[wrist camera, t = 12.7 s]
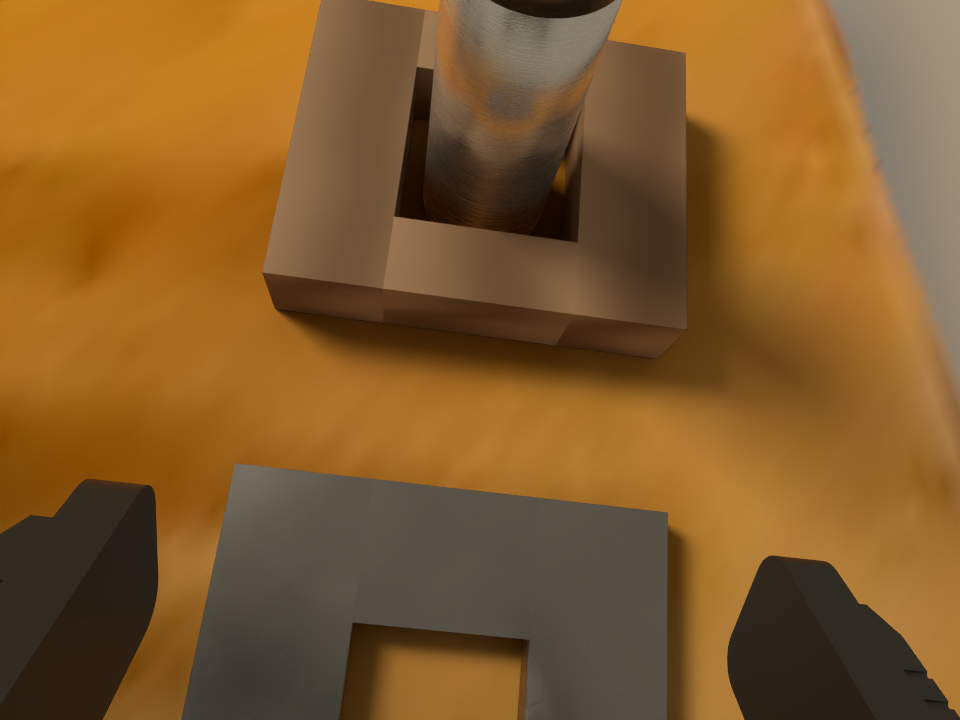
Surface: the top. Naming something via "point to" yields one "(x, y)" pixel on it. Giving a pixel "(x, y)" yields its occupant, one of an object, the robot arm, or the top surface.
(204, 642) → the socket plate
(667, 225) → the rack
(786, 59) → the top surface
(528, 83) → the grey metal cylinder
